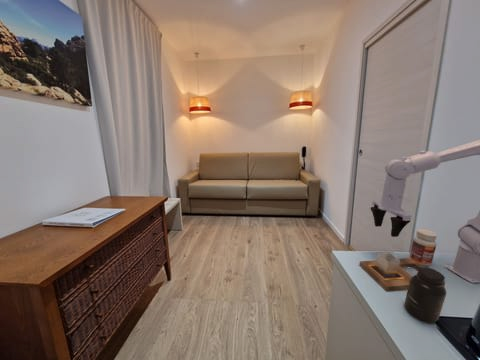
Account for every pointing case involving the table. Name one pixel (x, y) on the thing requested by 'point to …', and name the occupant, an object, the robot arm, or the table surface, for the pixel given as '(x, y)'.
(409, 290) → the supplement bottle
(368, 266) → the wooden shape sorting board
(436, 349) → the table surface
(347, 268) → the table surface
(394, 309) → the table surface
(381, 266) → the beige rectangular block
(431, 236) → the pill bottle
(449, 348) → the table surface
